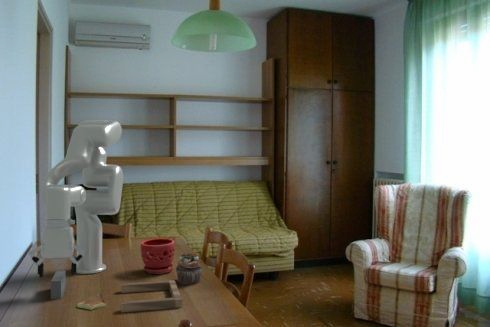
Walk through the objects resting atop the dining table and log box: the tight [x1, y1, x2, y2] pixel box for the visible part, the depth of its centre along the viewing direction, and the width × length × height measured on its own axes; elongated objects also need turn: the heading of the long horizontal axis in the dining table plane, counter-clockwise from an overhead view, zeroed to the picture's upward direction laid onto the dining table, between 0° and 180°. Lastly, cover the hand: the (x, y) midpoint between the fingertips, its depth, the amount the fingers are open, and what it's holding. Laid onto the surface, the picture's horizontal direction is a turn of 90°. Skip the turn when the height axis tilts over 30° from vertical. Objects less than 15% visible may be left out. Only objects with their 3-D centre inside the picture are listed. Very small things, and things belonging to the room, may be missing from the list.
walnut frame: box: [120, 279, 183, 313], centre depth 142 cm, size 20×18×2 cm
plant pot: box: [140, 237, 176, 275], centre depth 174 cm, size 13×13×12 cm
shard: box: [77, 293, 107, 311], centre depth 138 cm, size 11×8×2 cm
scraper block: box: [50, 270, 67, 300], centre depth 146 cm, size 12×3×6 cm, turn 16°
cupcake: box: [175, 253, 203, 285], centre depth 161 cm, size 10×10×10 cm
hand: (57, 275), depth 145 cm, fingers open, 9 cm apart
